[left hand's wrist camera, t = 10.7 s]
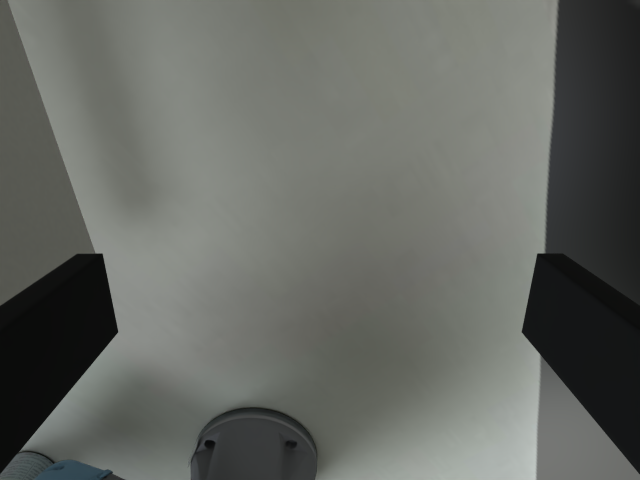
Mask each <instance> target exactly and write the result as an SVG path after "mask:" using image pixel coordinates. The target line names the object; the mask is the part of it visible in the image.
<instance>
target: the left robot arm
mask: <svg viewBox="0 0 640 480" xmlns="http://www.w3.org/2000/svg"><path fill="white" fill-rule="evenodd" d="M117 333H118V328H117V323H116V318H115V313H114V308H113V303H112V298H111V293H110V288H109V283H108V278H107V273H106V268H105V263H104V258H103V254H76V255H74V256H73V257H71V258H70V259H68V260H67V261H66V262H64V263H63V264H61V265H60V266H58V267H57V268H55V269H54V270H52V271H51V272H49V273H48V274H46V275H45V276H43V277H42V278H40V279H39V280H37V281H36V282H35V283H33V284H32V285H30V286H29V287H27V288H26V289H24V290H23V291H21V292H20V293H18V294H17V295H15V296H14V297H12V298H11V299H9V300H8V301H6V302H5V303H4V304H2V305H1V306H0V474H1V473H2V472H3V470H4V469H5V468H6V467H7V466H8V464H9V463H10V462H11V461H12V459H13V458H14V457H15V456H16V455H17V453H18V452H19V451H20V450H21V449H22V447H23V446H24V445H25V444H26V443H27V441H28V440H29V439H30V438H31V437H32V435H33V434H34V433H35V432H36V431H37V429H38V428H39V427H40V426H41V425H42V423H43V422H44V421H45V420H46V419H47V417H48V416H49V415H50V414H51V413H52V411H53V410H54V409H55V408H56V406H57V405H58V404H59V403H60V402H61V400H62V399H63V398H64V397H65V396H66V394H67V393H68V392H69V391H70V390H71V388H72V387H73V386H74V385H75V384H76V382H77V381H78V380H79V379H80V378H81V376H82V375H83V374H84V373H85V372H86V370H87V369H88V368H89V367H90V366H91V364H92V363H93V362H94V361H95V360H96V358H97V357H98V356H99V355H100V353H101V352H102V351H103V350H104V349H105V347H106V346H107V345H108V344H109V343H110V341H111V340H112V339H113V338H114V337H115V335H116V334H117ZM522 333H523V334H524V335H525V337H526V338H527V339H528V340H529V341H530V343H531V344H532V345H533V346H534V347H535V349H536V350H537V351H538V352H539V353H540V355H541V356H542V357H543V358H544V360H545V361H546V362H547V363H548V364H549V365H550V367H551V368H552V369H553V370H554V372H555V373H556V374H557V375H558V376H559V378H560V379H561V380H562V381H563V382H564V384H565V385H566V386H567V387H568V388H569V390H570V391H571V392H572V393H573V394H574V396H575V397H576V398H577V399H578V400H579V402H580V403H581V404H582V405H583V406H584V408H585V409H586V410H587V411H588V413H589V414H590V415H591V416H592V417H593V419H594V420H595V421H596V422H597V423H598V425H599V426H600V427H601V428H602V429H603V431H604V432H605V433H606V434H607V435H608V437H609V438H610V439H611V440H612V441H613V443H614V444H615V445H616V446H617V447H618V449H619V450H620V451H621V452H622V453H623V455H624V456H625V457H626V458H627V459H628V461H629V462H630V463H631V464H632V466H633V467H634V468H635V469H636V470H637V472H638V473H639V474H640V306H639V305H638V304H636V303H635V302H633V301H632V300H631V299H629V298H628V297H626V296H625V295H623V294H622V293H620V292H619V291H617V290H616V289H614V288H613V287H611V286H610V285H608V284H607V283H605V282H604V281H602V280H601V279H600V278H598V277H597V276H595V275H594V274H592V273H591V272H589V271H588V270H586V269H585V268H583V267H582V266H580V265H579V264H577V263H576V262H574V261H573V260H572V259H570V258H569V257H567V256H566V255H564V254H537V258H536V263H535V268H534V273H533V278H532V283H531V288H530V293H529V298H528V303H527V308H526V313H525V318H524V323H523V328H522ZM190 461H191V480H315V476H316V472H317V452H316V447H315V444H314V442H313V440H312V438H311V436H310V435H309V433H308V432H307V431H306V430H305V429H304V428H303V427H302V426H301V425H300V424H299V423H297V422H296V421H294V420H293V419H291V418H289V417H287V416H285V415H283V414H280V413H278V412H274V411H271V410H265V409H254V408H251V409H240V410H235V411H231V412H228V413H225V414H223V415H221V416H219V417H217V418H215V419H214V420H212V421H211V422H210V423H208V424H207V425H206V426H205V427H204V429H203V430H202V431H201V433H200V434H199V436H198V438H197V441H196V444H195V446H194V448H193V451H192V453H191V455H190V458H189V462H188V466H189V463H190ZM112 473H113V472H112V471H111V470H101V469H98V468H95V467H92V466H90V465H87V464H84V463H81V462H78V461H75V460H63V461H60V462H57V463H55V464H53V465H51V466H50V467H48V468H47V469H45V470H44V471H43V472H42V473H40V474H39V475H38V476H37V477H36V478H35V479H34V480H125V479H122V478H120V477H118V476H116V475H114V474H112Z"/></svg>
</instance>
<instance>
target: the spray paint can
mask: <svg viewBox="0 0 640 480" xmlns="http://www.w3.org/2000/svg"><path fill="white" fill-rule="evenodd" d="M51 465H53V463H52V462H51V461H50V460H49V459H47V458H46V457H44V456H42V455H39V454H36V453H31V452H23V453H19V454H17V455H16V456H15V457H14V458H13V459H12V461H11V462H10V463H9V464H8V466H7V467H6V468H5V469H4V470H3V472H2V473H1V474H0V480H34V479H35V478H36V477H37V476H38V475H39V474H40V473H42V472H43V471H44V470H45V469H47V468H48V467H50V466H51Z"/></svg>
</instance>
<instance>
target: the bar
mask: <svg viewBox="0 0 640 480" xmlns="http://www.w3.org/2000/svg"><path fill="white" fill-rule="evenodd" d="M76 254H95V251H94V248H93V245H92V242H91V239H90V236H89V233H88V231H87V228H86V225H85V222H84V219H83V216H82V213H81V210H80V208H79V205H78V202H77V199H76V196H75V193H74V190H73V187H72V185H71V182H70V179H69V176H68V173H67V170H66V167H65V164H64V162H63V159H62V156H61V153H60V150H59V147H58V144H57V141H56V139H55V136H54V133H53V130H52V127H51V124H50V121H49V118H48V116H47V113H46V110H45V107H44V104H43V101H42V98H41V95H40V93H39V90H38V87H37V84H36V81H35V78H34V75H33V72H32V70H31V67H30V64H29V61H28V58H27V55H26V52H25V49H24V47H23V44H22V41H21V38H20V35H19V32H18V29H17V26H16V24H15V21H14V18H13V15H12V12H11V9H10V6H9V3H8V1H7V0H0V306H1V305H2V304H4V303H5V302H6V301H8V300H9V299H11V298H12V297H14V296H15V295H17V294H18V293H20V292H21V291H23V290H24V289H26V288H27V287H29V286H30V285H32V284H33V283H35V282H36V281H37V280H39V279H40V278H42V277H43V276H45V275H46V274H48V273H49V272H51V271H52V270H54V269H55V268H57V267H58V266H60V265H61V264H63V263H64V262H66V261H67V260H68V259H70V258H71V257H73V256H74V255H76Z"/></svg>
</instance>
